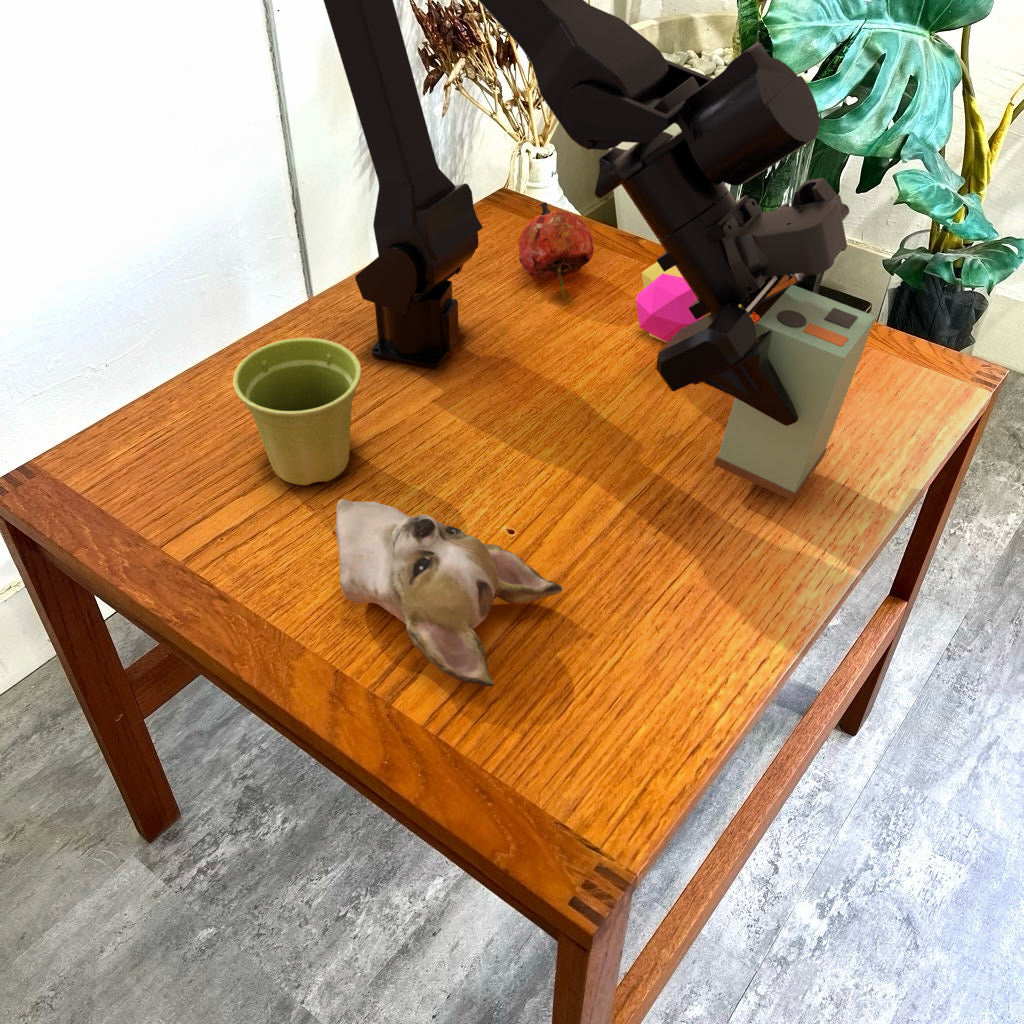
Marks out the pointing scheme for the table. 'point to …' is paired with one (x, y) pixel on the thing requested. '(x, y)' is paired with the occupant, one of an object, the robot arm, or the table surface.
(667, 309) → the toy
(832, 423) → the shape sorter
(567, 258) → the pomegranate
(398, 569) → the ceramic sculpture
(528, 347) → the table surface
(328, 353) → the plant pot
